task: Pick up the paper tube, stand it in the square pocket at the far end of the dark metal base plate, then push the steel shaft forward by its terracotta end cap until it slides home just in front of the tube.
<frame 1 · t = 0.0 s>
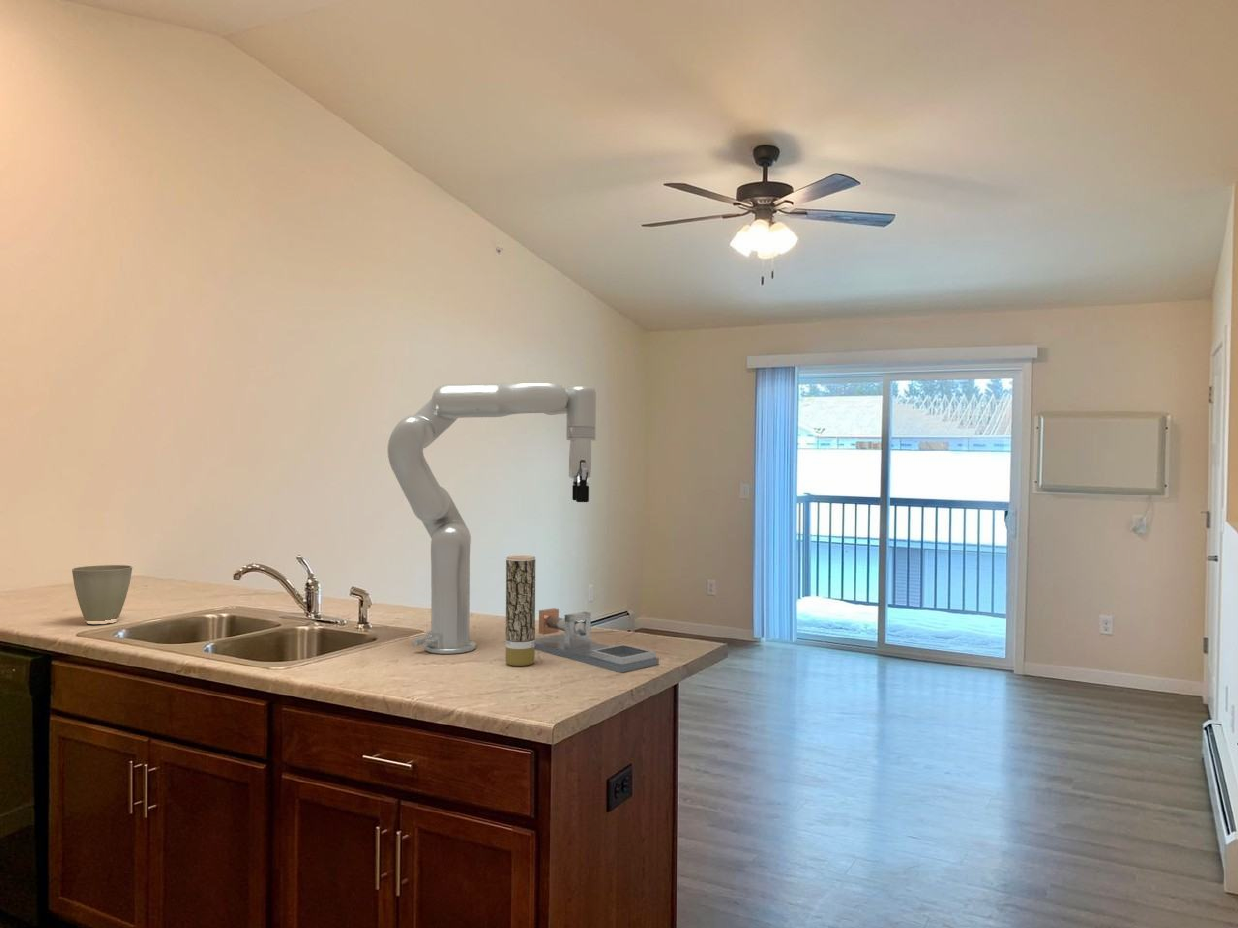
hand: (580, 501, 220), 37 cm above the worktop, tool pointing down, fingers open, 9 cm apart
shaft frame: (589, 654, 210), on the worktop
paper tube: (520, 664, 200), on the worktop
shaft: (563, 624, 217), point 6 cm above the worktop, slide at 0.0 cm
plant pot: (102, 623, 245), on the worktop
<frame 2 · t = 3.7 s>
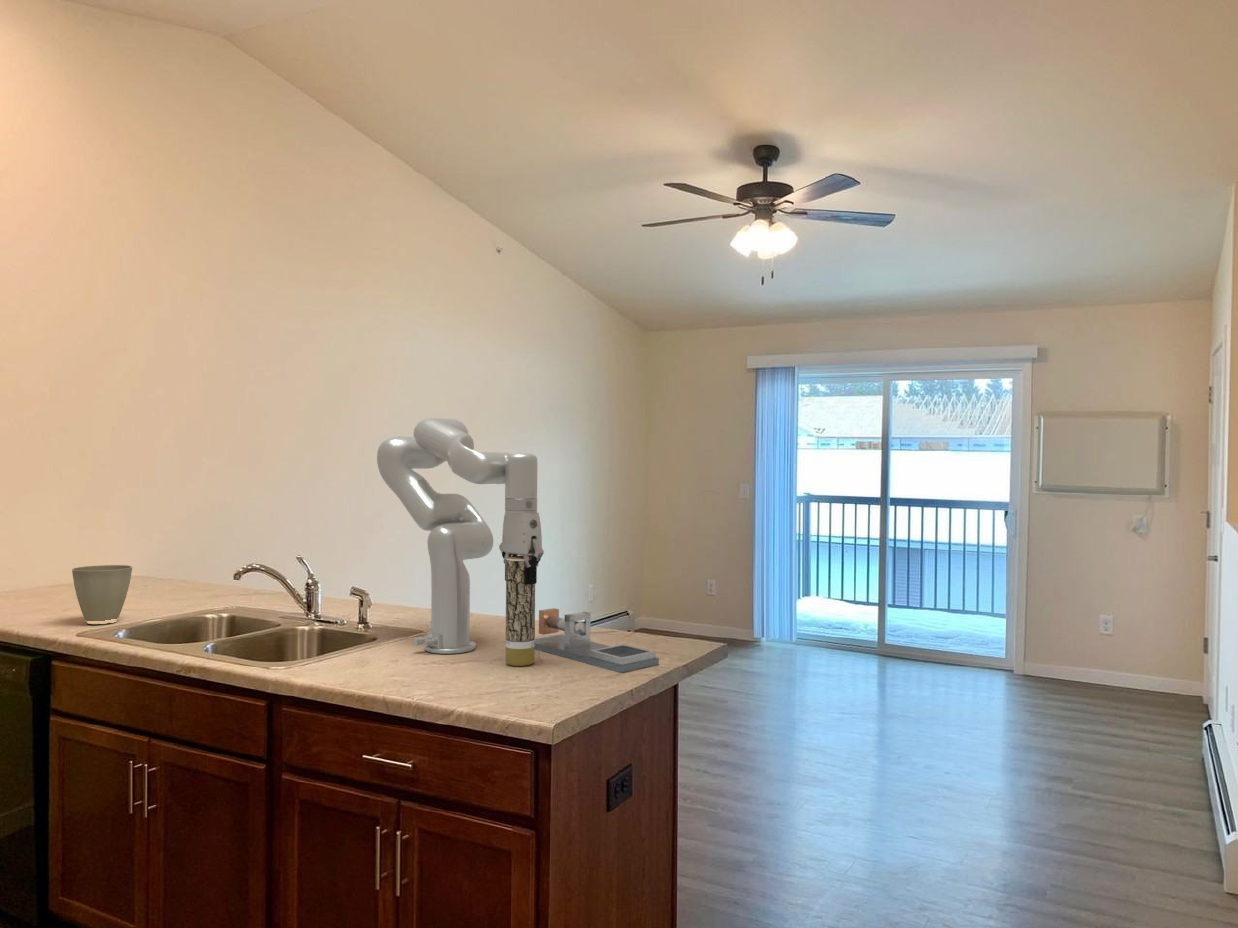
hand: (520, 581, 200), 19 cm above the worktop, tool pointing down, fingers closed on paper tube, 6 cm apart
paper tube: (520, 664, 200), on the worktop, touching gripper
everything else where it was.
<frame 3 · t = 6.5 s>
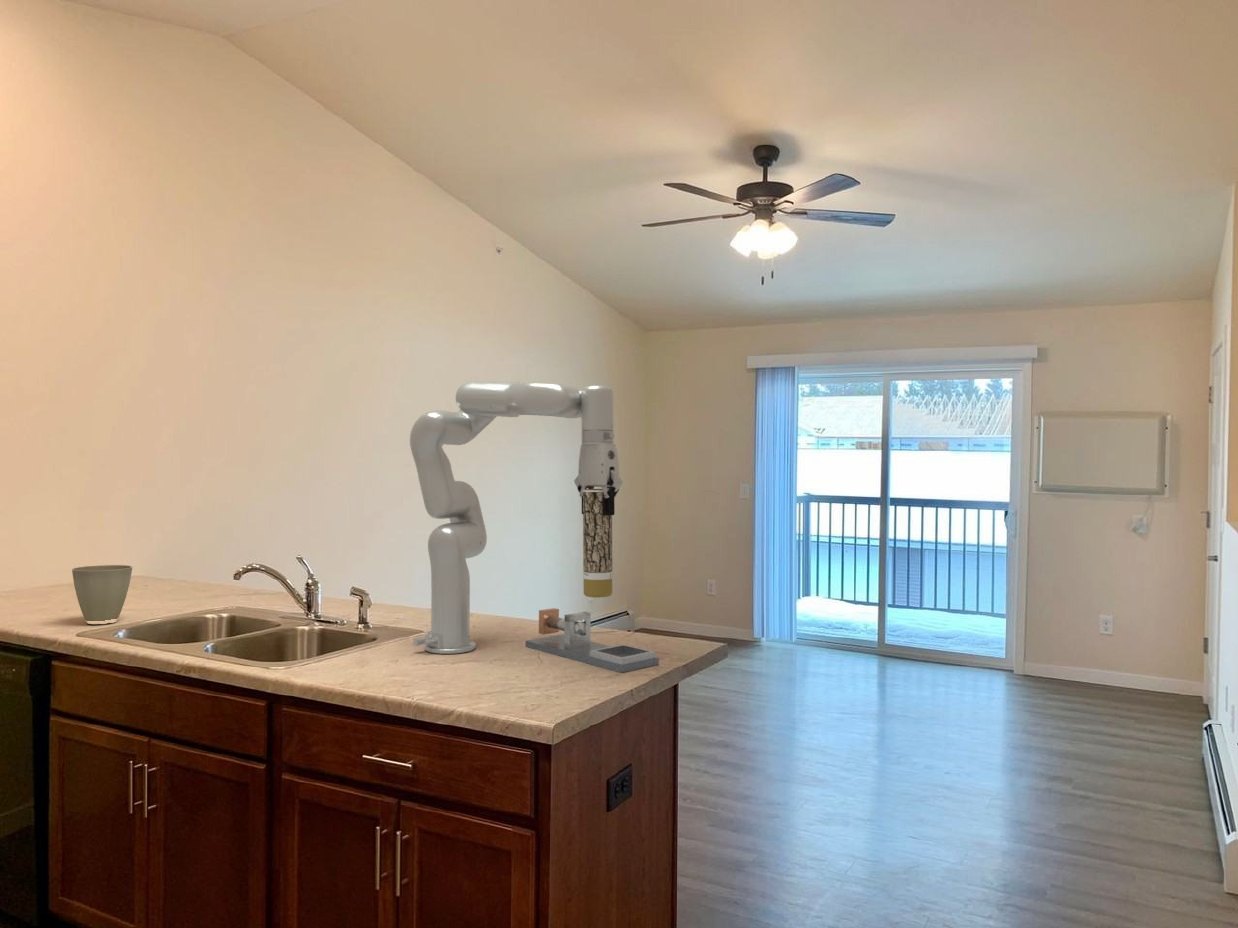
hand: (597, 513, 201), 35 cm above the worktop, tool pointing down, fingers closed on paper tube, 6 cm apart
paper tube: (598, 596, 201), point 16 cm above the worktop, touching gripper
everything else where it was.
when the fingers open (22 cm above the worktop, at t = 9.8 s): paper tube drops 2 cm, resting on shaft frame.
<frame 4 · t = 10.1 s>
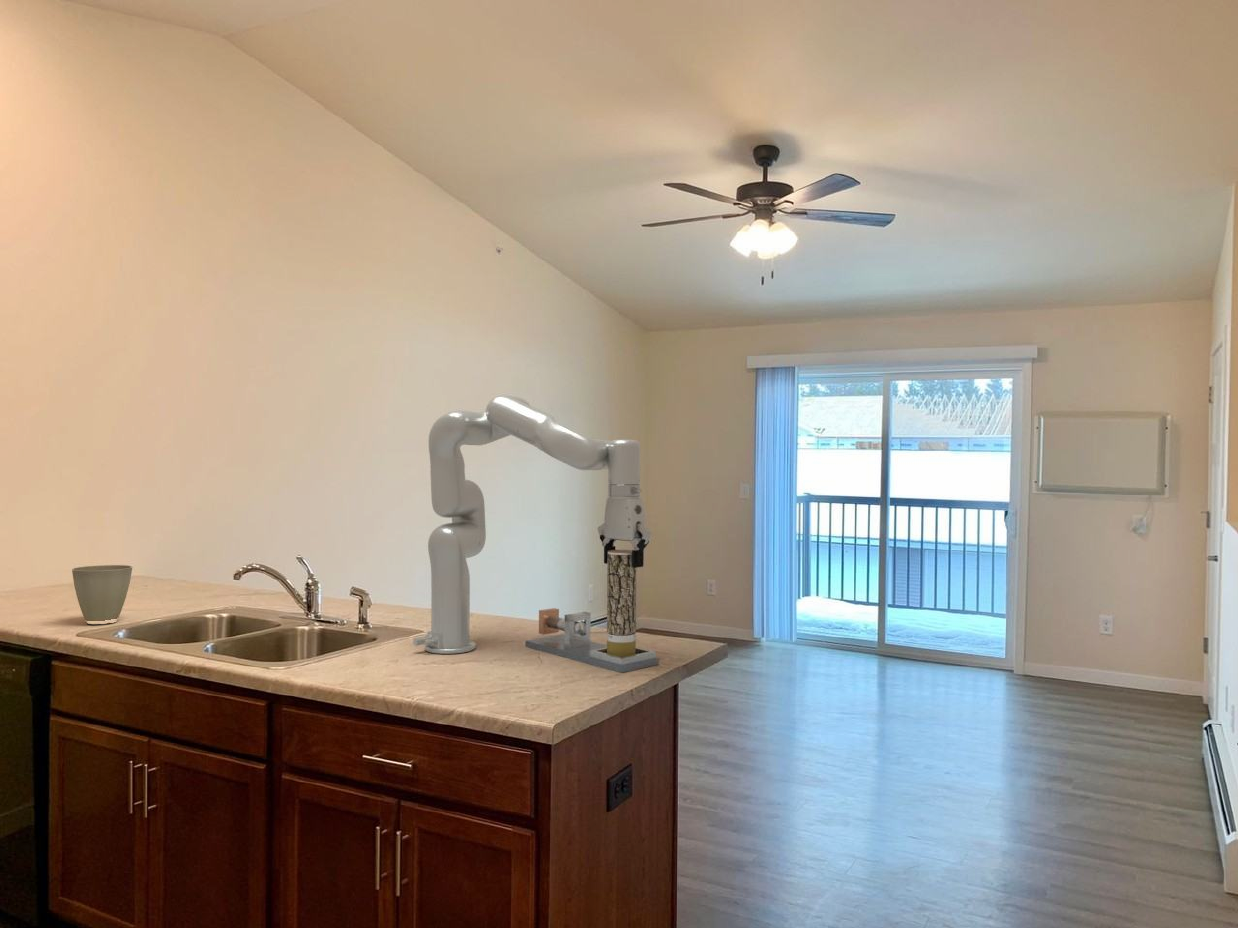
hand: (623, 565, 201), 23 cm above the worktop, tool pointing down, fingers open, 9 cm apart
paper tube: (621, 658, 201), point 1 cm above the worktop, touching shaft frame
everything else where it was.
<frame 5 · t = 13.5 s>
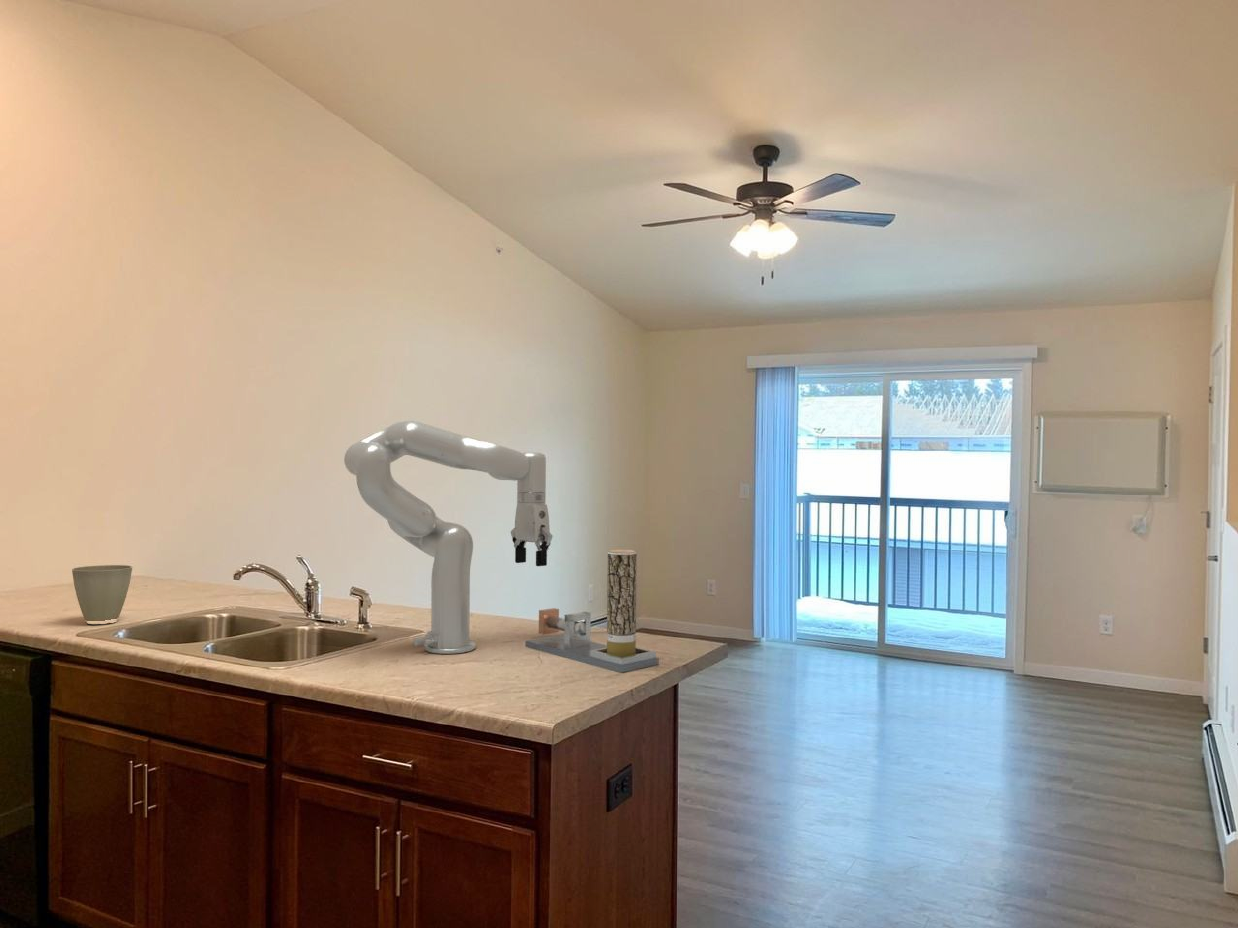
hand: (530, 563, 227), 20 cm above the worktop, tool pointing down, fingers open, 8 cm apart
nothing on the worktop moved.
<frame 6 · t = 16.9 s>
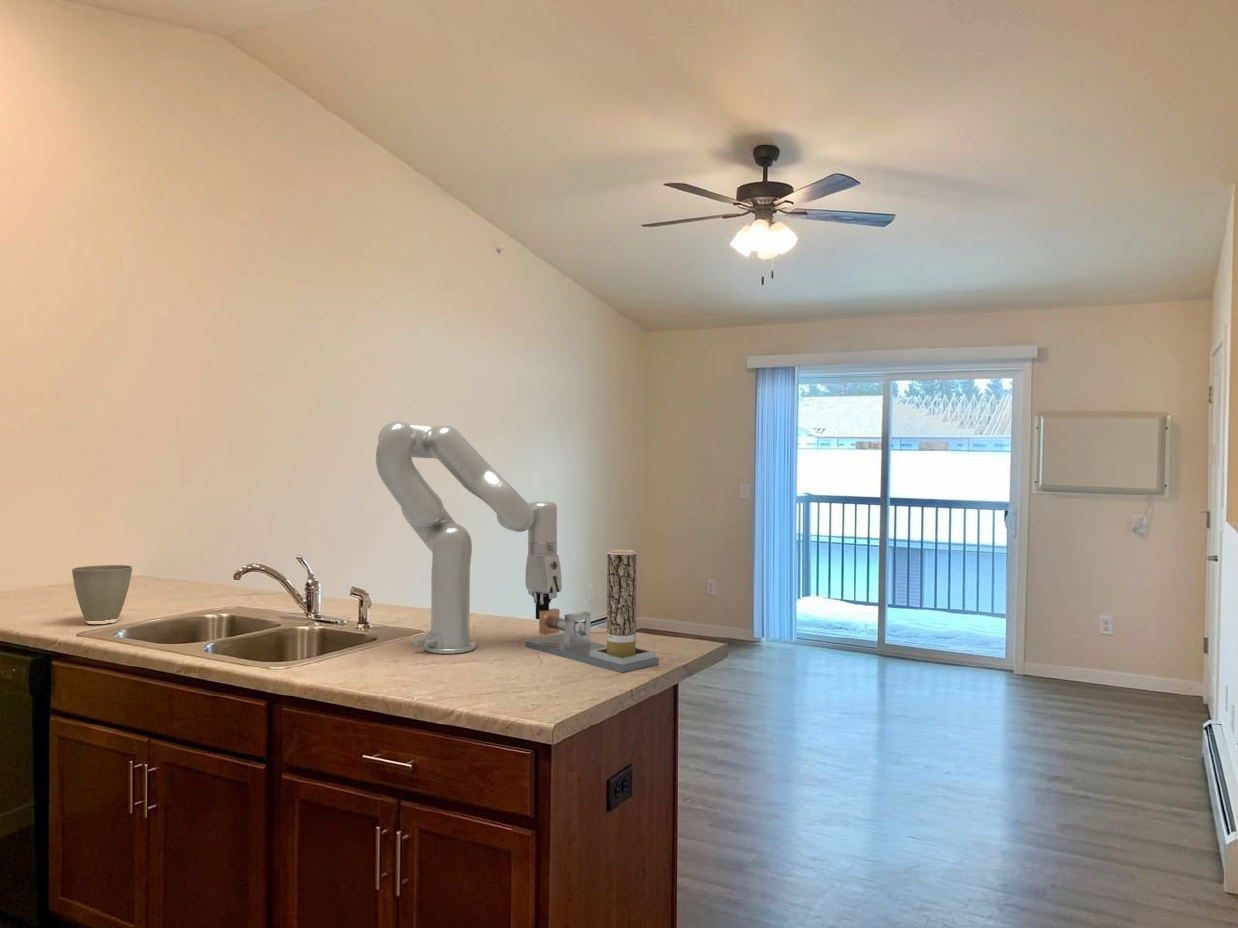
hand: (542, 618, 224), 6 cm above the worktop, tool pointing down, fingers closed
shaft: (564, 624, 217), point 6 cm above the worktop, slide at 0.2 cm, touching gripper
everything else where it was.
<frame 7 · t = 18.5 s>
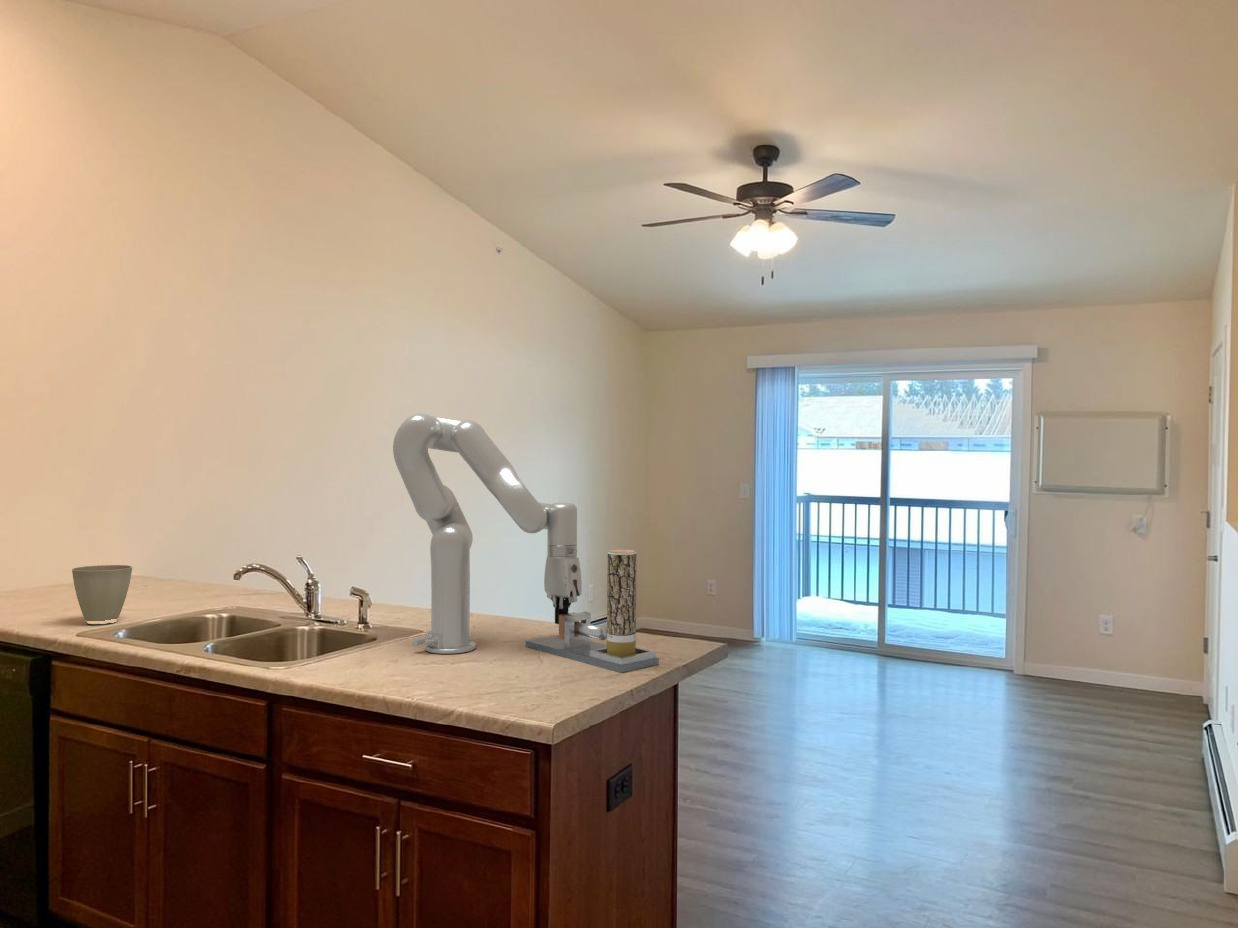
hand: (561, 623, 218), 6 cm above the worktop, tool pointing down, fingers closed
shaft: (584, 629, 211), point 6 cm above the worktop, slide at 8.2 cm, touching gripper
everything else where it was.
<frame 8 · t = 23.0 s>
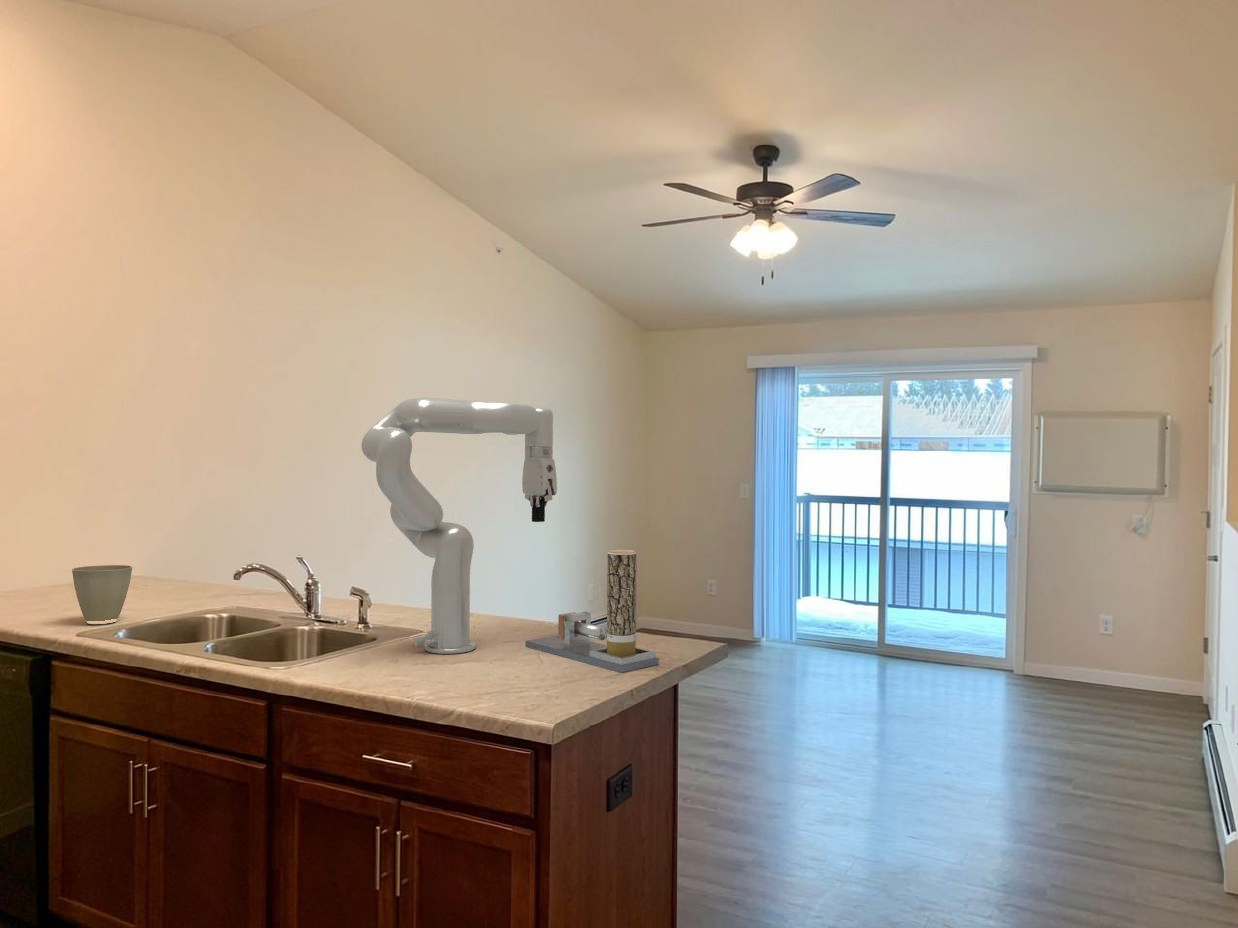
hand: (538, 521, 231), 31 cm above the worktop, tool pointing down, fingers closed
shaft: (584, 629, 211), point 6 cm above the worktop, slide at 8.0 cm
everything else where it was.
at the end: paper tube 0.4 cm from the target spot on the shaft frame, point 1.3 cm above the shaft frame's base; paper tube tilted 0°; shaft slide at 8.0 cm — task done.
